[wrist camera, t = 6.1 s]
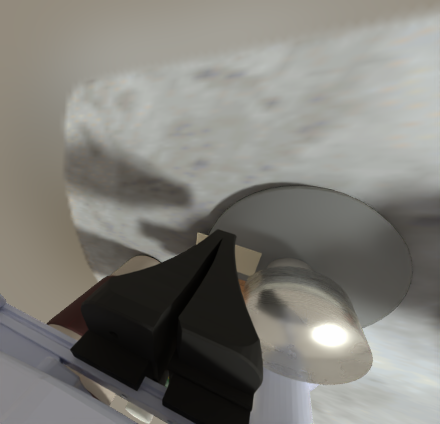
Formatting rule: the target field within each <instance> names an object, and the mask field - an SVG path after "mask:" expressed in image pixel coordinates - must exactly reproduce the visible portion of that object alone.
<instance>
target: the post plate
mask: <svg viewBox="0 0 440 424" xmlns="http://www.w3.org/2000/svg"><path fill="white" fill-rule="evenodd" d="M217 229H219V230H222V231H225V232H229V233H232V234H235V235H236V236H237V238H236V242H235V260H236V268H237V274H238V279H240V280H244V281H246V280H247V279H248V278H249V277H250V276H251V275H253V274H254V273H256V272H258V271H260V270H263V269H266V268H271V267H279V266H291V267H299V268H304V269H308V270H312V271H315V272H317V273H320V274H322V275H324V276H326V277H328V278H330V279H331V280H333V281H334V282H336V283H337V284H338V285H339V286H341V287H342V288H343V289H344V291H345V292H346V293H347V294H348V296H349V298H350V300H351V302H352V305H353V307H354V310H355V312H356V315H357V317H358V320H359V322H360V325H361V327H362V328H364V327H367V326H369V325H372V324H374V323H375V322H377V321H379V320H381V319H383V318H384V317H385V316H387V315H388V314H390V313H391V312H392V311H393V310H394V309H395V308H396V307H397V306H398V305H399V304H400V303H401V301H402V300H403V298H404V297H405V295H406V294H407V291H408V289H409V287H410V284H411V278H412V260H411V257H410V253H409V250H408V248H407V246H406V244H405V242H404V240H403V238H402V237H401V236H400V234H399V233H398V232H397V231H396V229H395V228H394V227H393V226H392V225H391V224H390V223H389V222H388V221H387V220H386V219H384V218H383V217H382V216H381V215H380V214H379V213H378V212H376V211H375V210H374V209H373V208H371V207H370V206H368V205H366V204H365V203H363V202H362V201H360V200H358V199H355V198H353V197H351V196H349V195H347V194H344V193H340V192H337V191H334V190H331V189H325V188H320V187H314V186H299V185H298V186H282V187H276V188H270V189H266V190H263V191H259V192H256V193H253V194H251V195H249V196H247V197H244V198H243V199H241V200H239V201H238V202H236V203H234V204H233V205H232V206H231V207H229V208H228V209H227V210H226V211H225V212H224V213H223V214H222V215H221V216H220V217H219V219H218V220H217V222H216V223H215V225H214V226H213V228H212V230H211V231H210V233H209V235H210V234H212V233H213V232H214V231H215V230H217ZM207 237H208V235H205V234H201V233H197V241H196V245H197V244H198V243H199V242H201V241H202V240H204V239H205V238H207Z"/></svg>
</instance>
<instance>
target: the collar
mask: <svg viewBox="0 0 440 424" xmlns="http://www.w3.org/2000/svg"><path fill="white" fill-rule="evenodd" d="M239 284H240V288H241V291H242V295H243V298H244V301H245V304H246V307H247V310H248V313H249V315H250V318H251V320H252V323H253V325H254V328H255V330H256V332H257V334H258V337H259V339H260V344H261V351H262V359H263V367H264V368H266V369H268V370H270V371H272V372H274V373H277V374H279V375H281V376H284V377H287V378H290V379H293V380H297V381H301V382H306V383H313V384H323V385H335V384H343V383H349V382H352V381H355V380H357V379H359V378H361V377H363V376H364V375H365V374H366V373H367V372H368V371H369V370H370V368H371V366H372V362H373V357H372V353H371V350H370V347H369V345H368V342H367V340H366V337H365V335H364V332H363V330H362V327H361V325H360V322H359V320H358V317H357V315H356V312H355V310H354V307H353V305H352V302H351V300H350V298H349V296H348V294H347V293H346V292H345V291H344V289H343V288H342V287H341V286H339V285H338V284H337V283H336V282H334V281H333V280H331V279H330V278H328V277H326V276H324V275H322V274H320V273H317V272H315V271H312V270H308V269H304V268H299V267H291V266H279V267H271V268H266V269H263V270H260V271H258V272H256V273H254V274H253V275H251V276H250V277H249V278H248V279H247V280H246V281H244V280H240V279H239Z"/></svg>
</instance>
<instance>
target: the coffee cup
mask: <svg viewBox="0 0 440 424" xmlns="http://www.w3.org/2000/svg"><path fill="white" fill-rule="evenodd" d="M159 263H160V262H159V261H157V260H155V259H153V258H151V257H148V256H143V255H141V256H135V257H133V258H131V259H130V260H129V261H127V262H126V263H125V264H124V265H122V266H121V267H120V268H119V269H117V270H116V271H115V272H114V273H112V274H111V275H110V276H107V277H105V278H103V279H102V280H101V281H99V282H98V283H97V284H96V285H94V286H93V287H92V288H90V289H89V290H88V291H87V292H85V293H84V294H83V295H82V296H80V297H79V298H78V299H77V300H75V301H74V302H73V303H71V304H70V305H69V306H68V307H66V308H65V309H64V310H62V311H61V312H60V313H59V314H57V315H56V316H55V317H54V318H52V319H51V320H50V321H49V322H48V323H47V325H49V326H51V327H53V328H55V329H57V330H59V331H60V332H62V333H64V334H66V335H68V336H70V337H72V338H74V339H76V340H77V341H78V340H79V339H80V338H81V337H82V336H83V335H84V334H85V333H86V332H87V330H88V327H87V325H86V323H85V320H84V318H83V316H82V313H81V304H82V303H83V302H84V301H85V300H86V299H87V298H88V297H89V296H90V295H91V294H92V293H93V292H95V291H96V290H97V289H98V288H99V287H100V286H101V285H102V284H103V283H105V282H106V281H107V280H108V279H109V278H111V277H114V276H119V275H123V274H127V273H131V272H135V271H138V270H142V269H145V268H148V267H151V266H154V265H157V264H159ZM64 366H66V365H64ZM66 367H67V368H68V369H70V370H71V371H72V372H74V373H75V374H76V375H78V376H79V377H80V381H81V383H82V384H83V386H84V387H85V388H86V390H87V391H88V392H89V393H90V394H91V395H92V397H94V398H96V399H97V400H99V401H101V402H103V403H105V404H106V405H108V406H110V404H111V402H112V400H113V399H114V397H115V395H116V394H115V393H113V392H112V391H110V390H108V389H106V388H105V387H103V386H101V385H99V384H98V383H96V382H94V381H92V380H91V379H89V378H87V377H85V376H84V375H82V374H80V373H78V372H77V371H75V370H73V369H71V368H70V367H68V366H66Z"/></svg>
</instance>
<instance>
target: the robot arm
mask: <svg viewBox="0 0 440 424" xmlns="http://www.w3.org/2000/svg"><path fill="white" fill-rule="evenodd" d="M236 238H237V236H236V235H235V234H232V233H229V232H225V231H222V230H219V229H217V230H215V231H214V232H213V233H212V234H210V235H209V236H208V237H207V238H205V239H204V240H202V241H201V242H199V243H198V244H197V245H195V246H193V247H192V248H190V249H188V250H187V251H185V252H183V253H181V254H179V255H177V256H175V257H173V258H171V259H169V260H167V261H164V262H162V263H159V264H157V265H154V266H151V267H148V268H145V269H142V270H138V271H135V272H131V273H127V274H123V275H119V276H114V277H111V278H109V279H108V280H107V281H106V282H105V283H103V284H102V285H101V286H100V287H99V288H98V289H97V290H96V291H95V292H93V293H92V294H91V295H90V296H89V297H88V298H87V299H86V300H85V301H84V302H83V303H82V304H81V313H82V316H83V318H84V320H85V323H86V325H87V327H88V330H87V332H86V333H85V334H84V335H83V336H82V337H81V338H80V339H79V340H78V341H77V340H76V339H74V338H72V337H70V336H68V335H66V334H64V333H62V332H60V331H59V330H57V329H55V328H53V327H51V326H49V325H47V324H45V323H43V322H41V321H39V320H38V319H36V318H34V317H32V316H30V315H28V314H26V313H24V312H22V311H21V310H19V309H17V308H15V307H13V306H11V305H9V304H7V303H6V300H5V299H4V297H3V296H2V295H1V294H0V424H138V423H136V422H135V421H133V420H131V419H130V418H128V417H126V416H125V415H123V414H122V413H120V412H118V411H116V410H115V409H113V408H111V407H110V406H108V405H106V404H105V403H103V402H101V401H99V400H97V399H96V398H94V397H92V395H91V394H90V393H89V392H88V391H87V390H86V388H85V387H84V386H83V384H82V383H81V381H80V377H79V376H78V375H76V374H75V373H74V372H72V371H71V370H70V369H68V368H67V367H66V366H68V367H70V368H71V369H73V370H75V371H77V372H78V373H80V374H82V375H84V376H85V377H87V378H89V379H91V380H92V381H94V382H96V383H98V384H99V385H101V386H103V387H105V388H106V389H108V390H110V391H112V392H113V393H115V394H117V395H119V396H120V397H122V398H124V399H126V400H127V401H129V402H131V403H133V404H134V405H136V406H138V407H140V408H141V409H143V410H145V411H147V412H148V413H150V414H152V415H154V416H155V417H158V418H159V419H161V420H162V421H164V422H166V423H168V424H313V416H312V407H311V398H310V391H312V390H313V389H314V388H315V387H317V386H318V385H319V384H313V383H306V382H301V381H297V380H293V379H290V378H287V377H284V376H281V375H279V374H277V373H274V372H272V371H270V370H268V369H266V368H264V367H263V359H262V351H261V344H260V339H259V337H258V334H257V332H256V330H255V328H254V325H253V323H252V320H251V318H250V315H249V313H248V310H247V307H246V304H245V301H244V298H243V295H242V291H241V288H240V284H239V279H238V274H237V268H236V260H235V242H236ZM64 365H66V366H64ZM168 377H169V385H168V387H167V388H166V387H165V385H166V382H167V379H168Z"/></svg>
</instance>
